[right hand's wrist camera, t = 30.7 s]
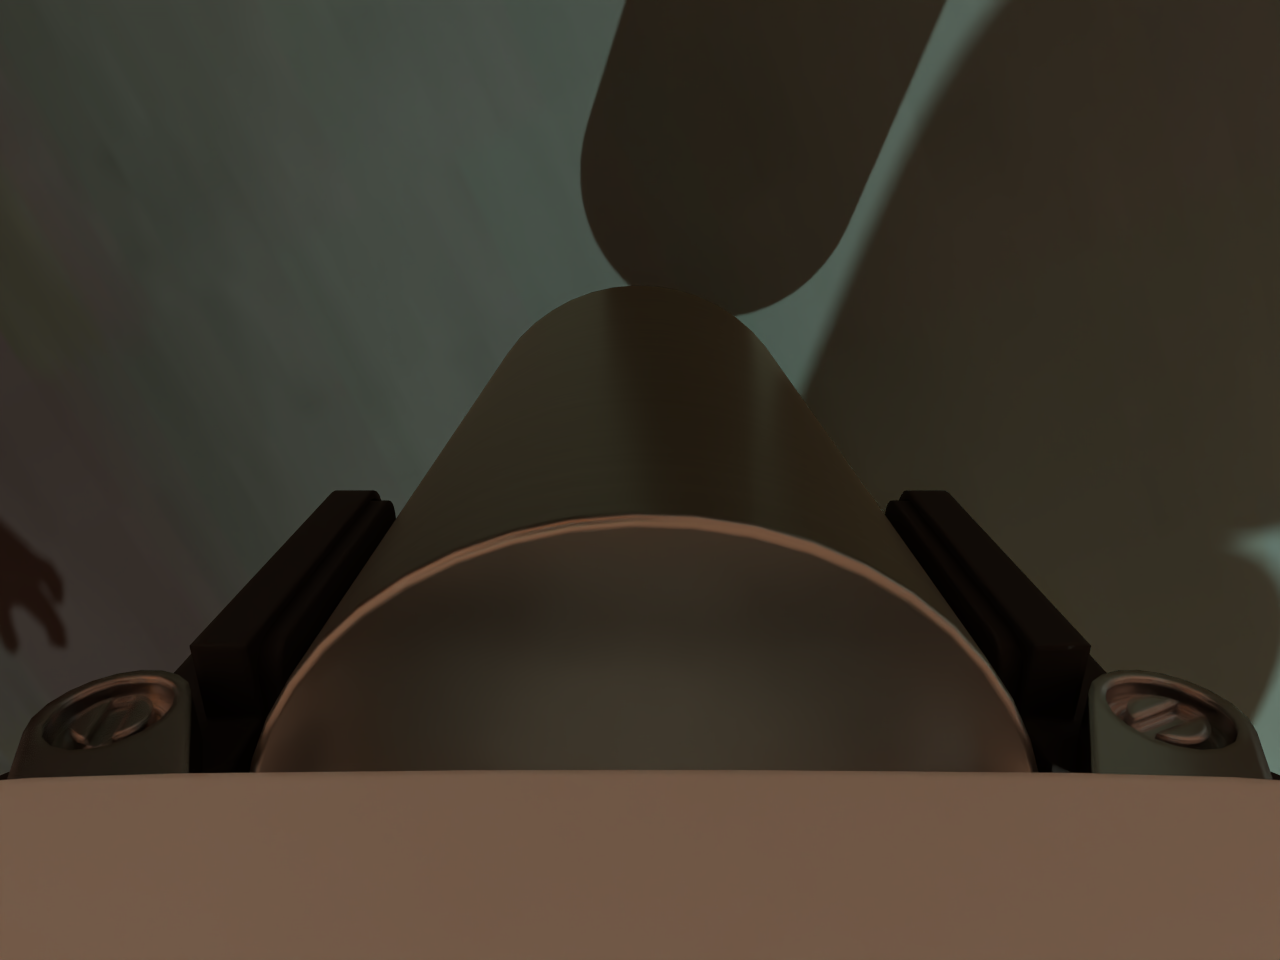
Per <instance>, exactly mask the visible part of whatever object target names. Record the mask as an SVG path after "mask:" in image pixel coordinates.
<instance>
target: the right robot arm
mask: <svg viewBox="0 0 1280 960" xmlns="http://www.w3.org/2000/svg"><path fill="white" fill-rule="evenodd" d="M885 516H886V517H887V519H888V520H889V521H890V523H891V524H892V526H893V527H894V529H895V530H896V531H897V533H898V534H899V536H900V537H901V538H902V540H903V541H904V543H905V544H906V545H907V547H908V548H909V550H910V551H911V553H912V554H913V555H914V557H915V558H916V560H917V561H918V562H919V564H920V565H921V567H922V568H923V569H924V571H925V572H926V574H927V575H928V576H929V578H930V579H931V581H932V582H933V584H934V585H935V586H936V588H937V589H938V591H939V592H940V593H941V595H942V596H943V598H944V599H945V600H946V602H947V603H948V605H949V606H950V607H951V609H952V610H953V612H954V613H955V615H956V616H957V617H958V619H959V620H960V622H961V623H962V624H963V626H964V627H965V629H966V630H967V631H968V633H969V634H970V636H971V637H972V639H973V640H974V641H975V643H976V644H977V646H978V647H979V648H980V650H981V651H982V653H983V654H984V655H985V657H986V658H987V660H988V661H989V663H990V664H991V666H992V667H993V669H994V670H995V672H996V674H997V675H998V677H999V678H1000V680H1001V681H1002V683H1003V684H1004V686H1005V687H1006V689H1007V690H1008V692H1009V694H1010V695H1011V697H1012V698H1013V700H1014V703H1015V705H1016V707H1017V709H1018V712H1019V714H1020V716H1021V719H1022V721H1023V723H1024V726H1025V728H1026V730H1027V733H1028V735H1029V737H1030V740H1031V744H1032V748H1033V752H1034V756H1035V760H1036V764H1037V769H1038V773H1026V772H911V771H795V770H451V771H360V772H268V773H250V767H251V761H252V757H253V755H254V752H255V749H256V746H257V743H258V741H259V738H260V735H261V732H262V729H263V727H264V724H265V721H266V718H267V716H268V714H269V713H270V711H271V709H272V707H273V706H274V704H275V702H276V700H277V698H278V697H279V695H280V693H281V691H282V689H283V688H284V686H285V684H286V682H287V681H288V679H289V677H290V676H291V674H292V673H293V671H294V670H295V668H296V667H297V665H298V664H299V662H300V661H301V659H302V658H303V656H304V655H305V653H306V652H307V650H308V649H309V647H310V646H311V644H312V643H313V641H314V640H315V639H316V637H317V636H318V634H319V633H320V631H321V630H322V628H323V627H324V625H325V624H326V622H327V621H328V619H329V618H330V616H331V615H332V613H333V612H334V610H335V609H336V607H337V606H338V604H339V603H340V601H341V600H342V598H343V597H344V596H345V594H346V593H347V591H348V590H349V588H350V587H351V585H352V584H353V582H354V581H355V579H356V578H357V576H358V575H359V573H360V572H361V570H362V569H363V567H364V566H365V564H366V563H367V561H368V560H369V558H370V557H371V555H372V554H373V553H374V551H375V550H376V548H377V547H378V545H379V544H380V542H381V541H382V539H383V538H384V536H385V535H386V533H387V532H388V530H389V529H390V527H391V526H392V524H393V523H394V521H395V520H396V516H395V510H394V506H393V504H392V502H391V501H381V498H380V496H379V494H378V493H377V491H334V492H332V493H331V494H330V495H329V496H328V497H327V498H326V500H325V501H324V502H323V503H322V504H321V505H320V506H319V507H318V508H317V509H316V510H315V511H314V512H313V514H312V515H311V516H310V517H309V518H308V519H307V520H306V521H305V522H304V523H303V524H302V525H301V526H300V528H299V529H298V530H297V531H296V532H295V533H294V534H293V535H292V536H291V537H290V538H289V539H288V540H287V541H286V543H285V544H284V545H283V546H282V547H281V548H280V549H279V550H278V551H277V552H276V553H275V554H274V555H273V557H272V558H271V559H270V560H269V561H268V562H267V563H266V564H265V565H264V566H263V567H262V568H261V569H260V571H259V572H258V573H257V574H256V575H255V576H254V577H253V578H252V579H251V580H250V581H249V582H248V583H247V585H246V586H245V587H244V588H243V589H242V590H241V591H240V592H239V593H238V594H237V595H236V596H235V597H234V599H233V600H232V601H231V602H230V603H229V604H228V605H227V606H226V607H225V608H224V609H223V610H222V611H221V613H220V614H219V615H218V616H217V617H216V618H215V619H214V620H213V621H212V622H211V623H210V624H209V625H208V627H207V628H206V629H205V630H204V631H203V632H202V633H201V634H200V635H199V636H198V637H197V638H196V639H195V641H194V642H193V643H192V644H191V645H190V650H191V655H190V656H189V657H188V658H187V659H186V660H185V661H184V663H183V664H182V665H181V666H180V667H179V668H178V669H177V670H176V671H175V672H174V673H170V672H166V671H162V670H139V671H132V672H126V673H119V674H115V675H111V676H108V677H104V678H101V679H97V680H94V681H91V682H89V683H87V684H84V685H82V686H80V687H77V688H75V689H73V690H70V691H68V692H66V693H65V694H63V695H62V696H60V697H58V698H57V699H55V700H53V701H52V702H50V703H48V704H47V705H46V706H45V707H44V708H42V709H41V710H40V711H39V712H38V713H37V714H36V715H35V716H33V717H32V718H31V720H30V722H29V723H28V725H27V727H26V728H25V730H24V731H23V734H22V737H21V740H20V743H19V746H18V749H17V752H16V754H15V757H14V760H13V763H12V766H11V769H10V772H8V773H5V774H3V775H0V960H1280V775H1278V774H1275V773H1273V772H1270V769H1269V766H1268V763H1267V760H1266V757H1265V754H1264V752H1263V749H1262V746H1261V743H1260V740H1259V737H1258V734H1257V731H1256V730H1255V728H1254V727H1253V725H1252V723H1251V722H1250V720H1249V718H1248V717H1247V716H1245V715H1244V714H1243V713H1242V712H1241V711H1240V710H1239V709H1238V708H1236V707H1235V706H1234V705H1233V704H1232V703H1230V702H1228V701H1227V700H1225V699H1223V698H1222V697H1220V696H1218V695H1217V694H1215V693H1214V692H1212V691H1210V690H1207V689H1205V688H1203V687H1200V686H1198V685H1196V684H1193V683H1191V682H1189V681H1186V680H1183V679H1179V678H1176V677H1172V676H1169V675H1165V674H1161V673H1154V672H1148V671H1141V670H1118V671H1114V672H1110V673H1106V672H1105V671H1104V670H1103V669H1102V668H1101V666H1100V665H1099V664H1098V663H1097V662H1096V661H1095V660H1094V659H1093V658H1092V657H1091V655H1090V654H1089V652H1090V648H1091V645H1090V644H1089V643H1088V642H1087V641H1086V640H1085V639H1084V638H1083V637H1082V636H1081V635H1080V634H1079V632H1078V631H1077V630H1076V629H1075V628H1074V627H1073V626H1072V625H1071V624H1070V623H1069V622H1068V621H1067V620H1066V618H1065V617H1064V616H1063V615H1062V614H1061V613H1060V612H1059V611H1058V610H1057V609H1056V608H1055V607H1054V606H1053V604H1052V603H1051V602H1050V601H1049V600H1048V599H1047V598H1046V597H1045V596H1044V595H1043V594H1042V593H1041V592H1040V590H1039V589H1038V588H1037V587H1036V586H1035V585H1034V584H1033V583H1032V582H1031V581H1030V580H1029V579H1028V578H1027V577H1026V575H1025V574H1024V573H1023V572H1022V571H1021V570H1020V569H1019V568H1018V567H1017V566H1016V565H1015V564H1014V563H1013V561H1012V560H1011V559H1010V558H1009V557H1008V556H1007V555H1006V554H1005V553H1004V552H1003V551H1002V550H1001V549H1000V547H999V546H998V545H997V544H996V543H995V542H994V541H993V540H992V539H991V538H990V537H989V536H988V535H987V533H986V532H985V531H984V530H983V529H982V528H981V527H980V526H979V525H978V524H977V523H976V522H975V521H974V520H973V518H972V517H971V516H970V515H969V514H968V513H967V512H966V511H965V510H964V509H963V508H962V507H961V506H960V504H959V503H958V502H957V501H956V500H955V499H954V498H953V497H952V496H951V495H950V494H949V493H948V492H947V491H904V492H903V493H902V495H901V497H900V500H899V501H890V502H889V503H888V505H887V508H886V512H885Z"/></svg>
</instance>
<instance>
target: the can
mask: <svg viewBox="0 0 1280 960" xmlns="http://www.w3.org/2000/svg"><path fill="white" fill-rule="evenodd" d="M451 770H795V771H911V772H1026V773H1038V769H1037V764H1036V760H1035V756H1034V752H1033V748H1032V744H1031V740H1030V737H1029V735H1028V733H1027V730H1026V728H1025V726H1024V723H1023V721H1022V719H1021V716H1020V714H1019V712H1018V709H1017V707H1016V705H1015V703H1014V700H1013V698H1012V697H1011V695H1010V694H1009V692H1008V690H1007V689H1006V687H1005V686H1004V684H1003V683H1002V681H1001V680H1000V678H999V677H998V675H997V674H996V672H995V670H994V669H993V667H992V666H991V664H990V663H989V661H988V660H987V658H986V657H985V655H984V654H983V653H982V651H981V650H980V648H979V647H978V646H977V644H976V643H975V641H974V640H973V639H972V637H971V636H970V634H969V633H968V631H967V630H966V629H965V627H964V626H963V624H962V623H961V622H960V620H959V619H958V617H957V616H956V615H955V613H954V612H953V610H952V609H951V607H950V606H949V605H948V603H947V602H946V600H945V599H944V598H943V596H942V595H941V593H940V592H939V591H938V589H937V588H936V586H935V585H934V584H933V582H932V581H931V579H930V578H929V576H928V575H927V574H926V572H925V571H924V569H923V568H922V567H921V565H920V564H919V562H918V561H917V560H916V558H915V557H914V555H913V554H912V553H911V551H910V550H909V548H908V547H907V545H906V544H905V543H904V541H903V540H902V538H901V537H900V536H899V534H898V533H897V531H896V530H895V529H894V527H893V526H892V524H891V523H890V521H889V520H888V519H887V517H886V516H885V514H884V513H883V512H882V510H881V509H880V507H879V506H878V505H877V503H876V502H875V500H874V499H873V498H872V496H871V495H870V493H869V492H868V490H867V489H866V488H865V486H864V485H863V483H862V482H861V481H860V479H859V478H858V476H857V475H856V474H855V472H854V471H853V469H852V468H851V467H850V465H849V464H848V462H847V461H846V459H845V458H844V457H843V455H842V454H841V452H840V451H839V450H838V448H837V447H836V445H835V444H834V443H833V441H832V440H831V438H830V437H829V435H828V434H827V433H826V431H825V430H824V428H823V427H822V426H821V424H820V423H819V421H818V420H817V419H816V417H815V416H814V414H813V413H812V412H811V410H810V409H809V407H808V406H807V404H806V403H805V402H804V400H803V399H802V397H801V396H800V395H799V393H798V392H797V390H796V389H795V388H794V386H793V385H792V383H791V382H790V381H789V379H788V378H787V376H786V375H785V373H784V372H783V371H782V369H781V368H780V366H779V365H778V364H777V362H776V361H775V359H774V358H773V357H772V355H771V354H770V352H769V351H768V349H767V348H766V347H765V346H764V344H763V343H762V342H761V341H760V340H759V339H758V338H757V336H756V335H755V334H754V333H753V332H752V331H751V330H750V329H749V328H748V327H747V326H745V325H744V324H743V323H742V322H741V321H740V320H738V319H737V318H736V317H735V316H733V315H732V314H730V313H728V312H727V311H725V310H724V309H722V308H721V307H719V306H718V305H715V304H713V303H711V302H709V301H707V300H705V299H703V298H701V297H698V296H695V295H692V294H689V293H686V292H683V291H679V290H675V289H669V288H663V287H657V286H635V285H634V286H624V287H613V288H609V289H604V290H600V291H596V292H591V293H589V294H586V295H584V296H581V297H578V298H576V299H573V300H571V301H569V302H567V303H565V304H563V305H561V306H560V307H558V308H556V309H554V310H552V311H551V312H550V313H548V314H547V315H545V316H544V317H543V318H541V319H540V320H539V321H537V322H536V323H535V324H534V325H533V326H532V327H531V328H530V329H529V330H527V331H526V332H525V333H524V334H523V335H522V336H521V337H520V338H519V340H518V341H517V342H516V344H515V345H514V346H513V347H512V349H511V350H510V351H509V353H508V354H507V355H506V357H505V358H504V360H503V361H502V363H501V364H500V366H499V367H498V369H497V370H496V372H495V373H494V375H493V376H492V378H491V379H490V381H489V382H488V383H487V385H486V386H485V388H484V389H483V391H482V392H481V394H480V395H479V397H478V398H477V400H476V401H475V403H474V404H473V406H472V407H471V409H470V410H469V412H468V413H467V415H466V416H465V418H464V419H463V421H462V422H461V424H460V425H459V426H458V428H457V429H456V431H455V432H454V434H453V435H452V437H451V438H450V440H449V441H448V443H447V444H446V446H445V447H444V449H443V450H442V452H441V453H440V455H439V456H438V458H437V459H436V461H435V462H434V464H433V465H432V467H431V468H430V469H429V471H428V472H427V474H426V475H425V477H424V478H423V480H422V481H421V483H420V484H419V486H418V487H417V489H416V490H415V492H414V493H413V495H412V496H411V498H410V499H409V501H408V502H407V504H406V505H405V507H404V508H403V510H402V511H401V512H400V514H399V515H398V517H397V518H396V520H395V521H394V523H393V524H392V526H391V527H390V529H389V530H388V532H387V533H386V535H385V536H384V538H383V539H382V541H381V542H380V544H379V545H378V547H377V548H376V550H375V551H374V553H373V554H372V555H371V557H370V558H369V560H368V561H367V563H366V564H365V566H364V567H363V569H362V570H361V572H360V573H359V575H358V576H357V578H356V579H355V581H354V582H353V584H352V585H351V587H350V588H349V590H348V591H347V593H346V594H345V596H344V597H343V598H342V600H341V601H340V603H339V604H338V606H337V607H336V609H335V610H334V612H333V613H332V615H331V616H330V618H329V619H328V621H327V622H326V624H325V625H324V627H323V628H322V630H321V631H320V633H319V634H318V636H317V637H316V639H315V640H314V641H313V643H312V644H311V646H310V647H309V649H308V650H307V652H306V653H305V655H304V656H303V658H302V659H301V661H300V662H299V664H298V665H297V667H296V668H295V670H294V671H293V673H292V674H291V676H290V677H289V679H288V681H287V682H286V684H285V686H284V688H283V689H282V691H281V693H280V695H279V697H278V698H277V700H276V702H275V704H274V706H273V707H272V709H271V711H270V713H269V714H268V716H267V718H266V721H265V724H264V727H263V729H262V732H261V735H260V738H259V741H258V743H257V746H256V749H255V752H254V755H253V757H252V761H251V767H250V773H268V772H360V771H451Z"/></svg>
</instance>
